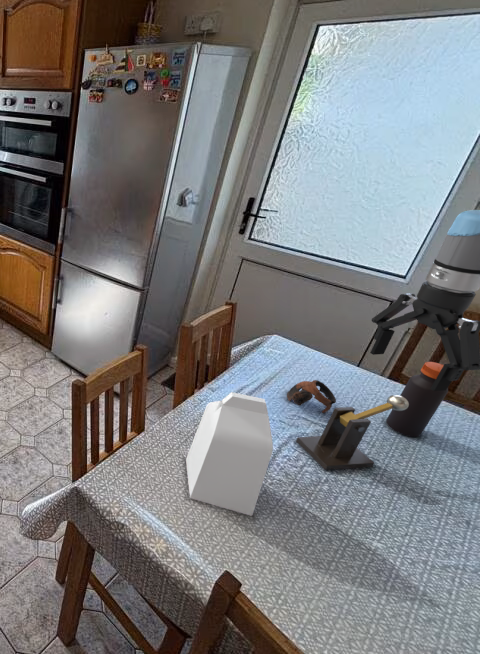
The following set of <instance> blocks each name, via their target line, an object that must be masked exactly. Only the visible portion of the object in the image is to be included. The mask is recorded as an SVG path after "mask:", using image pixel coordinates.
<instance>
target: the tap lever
mask: <svg viewBox="0 0 480 654" xmlns="http://www.w3.org/2000/svg"><path fill="white" fill-rule="evenodd" d="M400 395H401V394H400ZM400 395H399V394H392V395H390V396H388V397H387V399H386V402H385V403H383V404H380V405H377V406H374V407H372V408H369V409H367V410H364V411H361V412H358V413H356V414H355V412H354V413H352V412H349V413H346V414H344V415H341V416H340V423H341V424H343V425H344V426H345V427H346V426H347V424H348V422H349V420H355V419H368V418H370V417H373V416H376V415H379V414H381V413H384V412H387V411H389V410H390V411H391V410H392V409H393V410H397V411H403V410H405V409H407V408H408V406H409V403H408V401H407V399H406V398H404V397H402V396H400Z"/></svg>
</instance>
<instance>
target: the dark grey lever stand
mask: <svg viewBox="0 0 480 654" xmlns="http://www.w3.org/2000/svg"><path fill="white" fill-rule="evenodd" d="M349 412H352V413H354V414H355V412H356V409H355V407H353V406H344V407H341V406H340V407H334V409H333V410H332V412H331V415H330V417H329V419H328V421H327V423H326V424H325V427H324V429H323V431H322V433H321V435H315V436H313V435H312V436H297V438H296V439H295V442H296V443H297V444H298V445H299V447H300V448H302V449H303V450H304V451H305V452H306V453H307V454H308V455H309V456H310V457H311V458H312V459H313V460H314V461H315V462H316V463H317V464H318V465H319V466H320V467H321V468H322V469H323V470H324V471H330V470H331V471H333V470H347V469H360V468H372V467H373V466H374V465H375V462H374V460H372V459H371V458H369V456H367V455H366V454H365V453H363V452H362V450H360V449H359V448H358V447H359V445H360V443H361V441H362V440H363V438H364V436H365V434H366V432H367V430H368V429H369V427H370V425H371V423H372V421H371V420H370V419H368V418H365V419H355V420H349V422H348V424H347V426H346V427H345V426H344V425H343V424H341V423H340V416H341V415H344V414H346V413H349Z"/></svg>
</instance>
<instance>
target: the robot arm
mask: <svg viewBox="0 0 480 654" xmlns="http://www.w3.org/2000/svg"><path fill="white" fill-rule="evenodd" d="M425 280H426V281H424V282H423V283H422V284H421V286H420V288H419V290H418V292H417V294H416V295H415V293H400V294H399V295H398V297H397V298H396V300H395V301H394V302H393V303H392V304H390V305H389V306H387V307H386V308H384V309H383V310H382V311H380V312H379V313H378V314H376V315H375V316H373V317H372V318H371V322H372V323H374V324H376V325H377V330H376V332H375V334H374V337H373V339H374V340H375V342H374V344H373V346H372V347H371V350H370V352H369V354H371V355H373V356H376V355H384V354H385V352H386V350H387V348H388V347H389V344H390V342H391V340H392V338H393V336H394V334H395V332H396V331H395V330H394V328H396V327H399V326H402V325H405V324H409V323H411V322H414V321H417V323H418V324H422V325H425V326H426V327H428V328H430V329H432V330H435V332H436V334H437V335H438V336H439V337H440V339H441V343H442V345H443V348H444V350H445V354H446V356H447V359H448V362H449V363H444V364H443V365H444V366H443V368H442V369H441V371H440V373H439V375H438V376H437V378H436V380H435V382H434V383H433V385H432V387H431V390H433V391H445V390H447V388H448V389H449V386H450V385H451V383H452V382H455V381H458V380H459V379H460V377H461V376H462V374H463V372H464V371H480V336H479V333H480V320H471V319H468V318H464V313H465V312H466V311H467V310H469V308H470V306H471V305H472V302H473V300H475V299H474V298H476V295H477V294H476V292H477V291H479V290H480V209H469V210H465V211H462V212H460V213H459V214H457V216H456V217H455V219H454V220H453V222H452V224H451V226H450V228H449V229H448V230H447V233H446V235H445V237H444V239H443V241H442V243H441V245H440V247H439V250H438V252H437V254H436V256H435V257H434V261H433V262H432V264H431V266H430V269H429V270H428V272H427V274H426V276H425ZM410 306H412V308H413V311H410V312H407V313H404V314H403V315H400V316H398V317H395V316H396V315H398V314H399V313H401V312H403V310H405V309H406V308H407V307H410ZM393 317H395V318H393ZM459 329H460V330H459Z"/></svg>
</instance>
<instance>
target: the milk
mask: <svg viewBox="0 0 480 654" xmlns="http://www.w3.org/2000/svg"><path fill="white" fill-rule="evenodd" d="M196 429H197V430H196V432H195V435H194V438H193V440H192V442H191V446H190V448H189V451H188V453H187V455H186V458H185V462H186V473H187V481H188V492H189V498H190V499H191V500H196V501H198V502H202V503H205V504H209V505H213V506H216V507H219V508H223V509H226V510H230V511H233V512H237V513H240V514H244V515H247V516H250V517H253V514H254V512H255V508H256V506H257V502H258V499H259V497H260V496H259V495H260V492H261V489H262V487H263V483H264V480H265V478H266V474H267V471H268V468H269V464H270V462H271V457H272V455H273V451H274V450H273V449H274V445H273V444H274V443H273V435H272V430H271V422H270V417H269V411H268V407H267V402H266V398H261V397H257V396H252V395H247V394H243V393H238V392H237V393H236V392H233V391H232V392H230V393H229V394H228V395H226V396H225V397H224V398H223V399H221V400H217V401H211V402H208V403H207V404H206V406H205V409H204V411H203V414H202V416H201V419H200V422H199V424H198V426H197V428H196Z"/></svg>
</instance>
